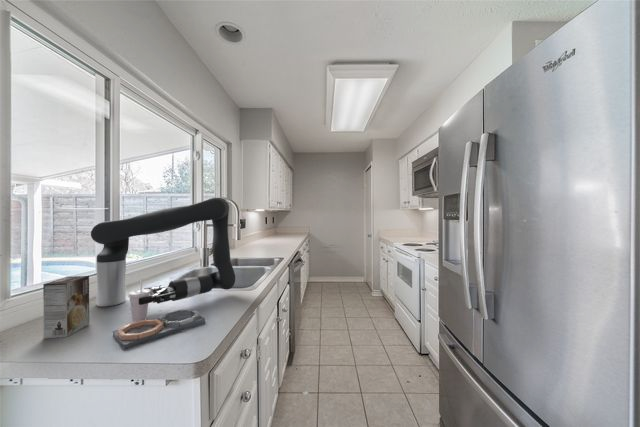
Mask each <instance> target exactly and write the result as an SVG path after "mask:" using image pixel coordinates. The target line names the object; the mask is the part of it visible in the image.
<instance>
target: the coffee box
mask: <svg viewBox="0 0 640 427" xmlns="http://www.w3.org/2000/svg"><path fill="white" fill-rule="evenodd" d="M42 285H43V288H42V289H43V290H42V291H43V295H42V296H43V297H42V298H43V339H55V338H56V339H58V338H68V337H70V336H71V335H73V334H74V333H77V332H78V331H80V330H82V329H84V328H85V327H87V326H88V325H89V324H90V275H81V276H80V275H78V276H66V277H65V276H64V277H63V278H59V279H56V280H53V281H49V282H46V283H44V284H42ZM57 337H58V338H57Z"/></svg>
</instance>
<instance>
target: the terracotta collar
mask: <svg viewBox="0 0 640 427" xmlns="http://www.w3.org/2000/svg"><path fill="white" fill-rule="evenodd" d="M158 319H159V318H157V319H146V320H142V321H138V322H131V323H128V324H126V325H123V327H120V328H119V329H117V330H118V331H117V335H118V337H119V338H120V339H121V340H131V339H140V338H143V337H147V336H150V335H153V334H155V333H157V332H158V331H159V330H161V329H162V328H163V323H162V322H161V321H160V320H158ZM141 325H156V327H155V328H154V329H151V330H148V331H145V332H141V333H133V334H125V333H124V332H126V331H127V330H129V329H131V328H134V327H138V326H141Z"/></svg>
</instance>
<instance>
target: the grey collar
mask: <svg viewBox="0 0 640 427" xmlns="http://www.w3.org/2000/svg"><path fill="white" fill-rule="evenodd" d="M181 314H191V315H193V316H192V317H191V318H188V319H184V320H181V321H167V319H168V318H170V317H173V316H177V315H181ZM199 316H200V313H199V311H197V310H195V309H179V310H175V311H172V312H169V313H166V314H164V315H163V316H162V317H160V321H161V322H162V323H163V325H164V326H181V325H185V324H188V323H191V322H193V321H195V320H196V319H197V318H198V317H199Z"/></svg>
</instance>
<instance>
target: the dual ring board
mask: <svg viewBox="0 0 640 427" xmlns="http://www.w3.org/2000/svg"><path fill="white" fill-rule="evenodd" d="M192 316H193V315H191V314H181V315H177V316H173V317H170V318H168V319H167V321H181V320H184V319H188V318H191V317H192ZM160 318H161V317H160ZM160 318H157V319H158V320H160ZM205 324H206V318H204V317H202V316H201V315H199V317H198V318H197V319H196V320H195V321H193V322H191V323H188V324H185V325H181V326H164V325H163V328H162V329H161V330H159V331H158V332H157V333H155V334H153V335H150V336H147V337H143V338H140V339H131V340H121V339H120V338H119V337H118V335H117V331H118V330H119V329H116V330H114V331H112V338H114V341H116V342H117V344H118V345H119V346H120V347H121V348H122V350H124V351H126V350H130V349H133V348H136V347H138V346H141V345H145V344H147V343H150V342H151V343H152V342H153V341H157V340H160V339H163V338H166V337H168V336H171V335H172V336H173V335H174V334H178V333H181V332H183V331H187V330H190V329H193V328H196V327H198V326H202V325H205ZM155 327H156V325H141V326H138V327H134V328H131V329H129V330H127V331H126V332H124V333H125V334H133V333H141V332H145V331H148V330H151V329H154V328H155Z"/></svg>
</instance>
